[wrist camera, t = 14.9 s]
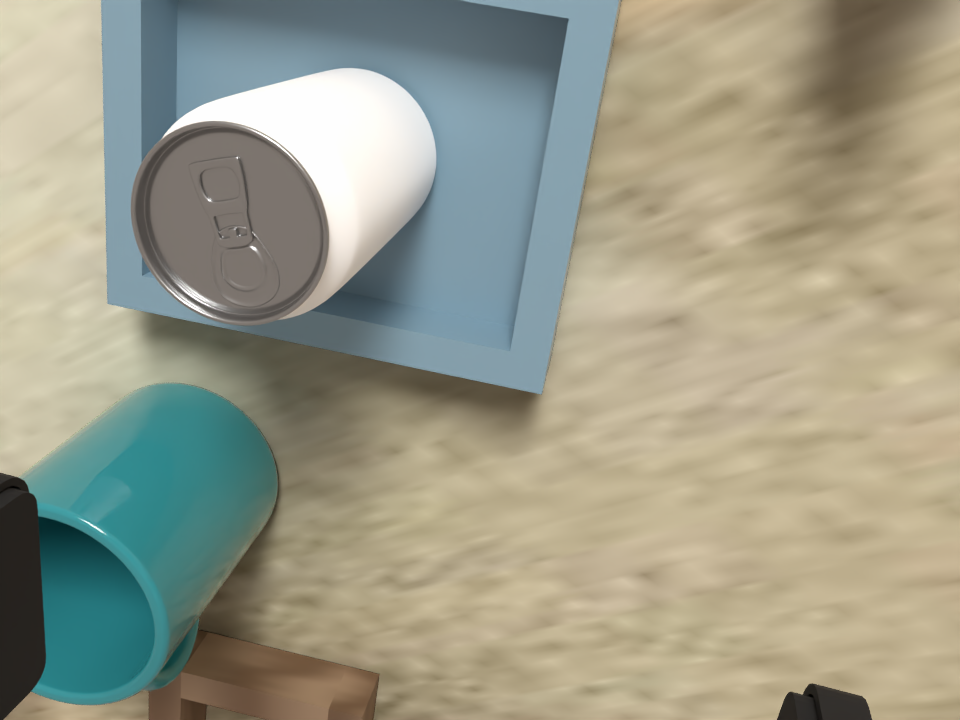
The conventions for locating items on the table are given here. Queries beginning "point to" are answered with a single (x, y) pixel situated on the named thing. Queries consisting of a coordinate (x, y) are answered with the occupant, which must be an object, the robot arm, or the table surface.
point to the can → (281, 193)
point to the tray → (459, 159)
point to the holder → (263, 685)
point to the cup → (143, 536)
